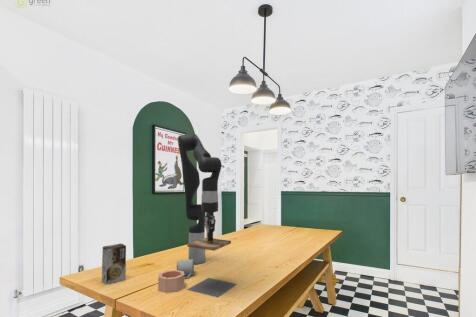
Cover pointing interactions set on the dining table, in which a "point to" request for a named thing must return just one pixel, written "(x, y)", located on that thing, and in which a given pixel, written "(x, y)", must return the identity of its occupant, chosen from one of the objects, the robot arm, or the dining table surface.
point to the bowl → (171, 281)
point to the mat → (212, 287)
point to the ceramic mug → (186, 267)
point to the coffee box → (113, 263)
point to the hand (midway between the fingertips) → (209, 239)
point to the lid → (209, 243)
